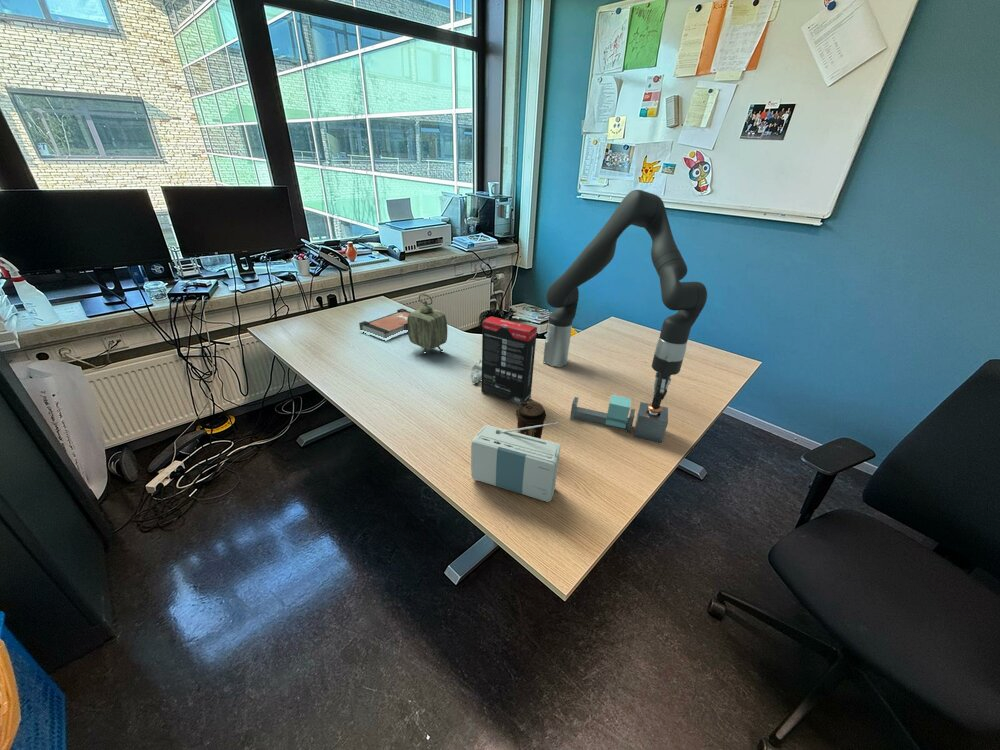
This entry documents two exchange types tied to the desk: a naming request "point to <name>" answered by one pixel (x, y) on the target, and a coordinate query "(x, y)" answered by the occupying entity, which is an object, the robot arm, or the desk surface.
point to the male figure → (477, 372)
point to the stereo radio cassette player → (515, 461)
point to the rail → (597, 416)
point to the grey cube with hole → (650, 424)
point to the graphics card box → (507, 359)
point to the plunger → (653, 409)
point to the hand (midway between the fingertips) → (655, 407)
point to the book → (387, 324)
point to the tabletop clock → (427, 326)
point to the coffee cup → (531, 418)
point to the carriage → (618, 411)
